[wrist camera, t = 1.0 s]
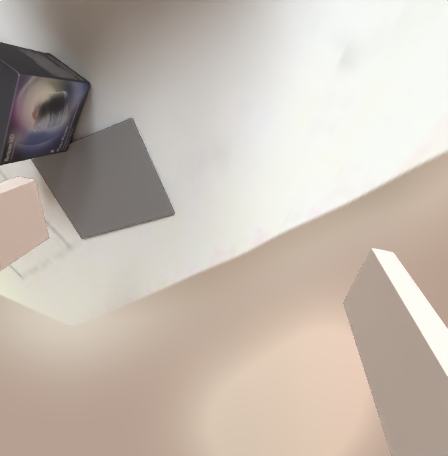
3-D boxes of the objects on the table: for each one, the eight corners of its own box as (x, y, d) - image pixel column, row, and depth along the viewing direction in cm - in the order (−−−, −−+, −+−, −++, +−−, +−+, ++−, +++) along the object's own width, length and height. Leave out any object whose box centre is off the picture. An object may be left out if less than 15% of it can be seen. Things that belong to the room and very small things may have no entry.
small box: (69, 154, 37) (-1, 170, 28) (29, 126, 36) (-57, 133, 27) (94, 84, 32) (19, 74, 23) (48, 51, 32) (-48, 26, 22)
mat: (34, 158, 39) (31, 159, 39) (132, 118, 34) (130, 118, 33) (83, 237, 44) (81, 238, 44) (174, 212, 39) (173, 214, 39)
